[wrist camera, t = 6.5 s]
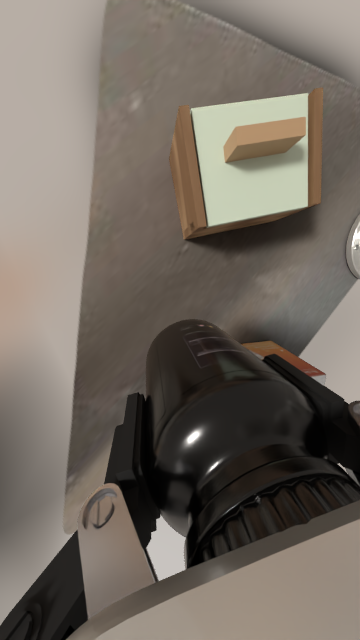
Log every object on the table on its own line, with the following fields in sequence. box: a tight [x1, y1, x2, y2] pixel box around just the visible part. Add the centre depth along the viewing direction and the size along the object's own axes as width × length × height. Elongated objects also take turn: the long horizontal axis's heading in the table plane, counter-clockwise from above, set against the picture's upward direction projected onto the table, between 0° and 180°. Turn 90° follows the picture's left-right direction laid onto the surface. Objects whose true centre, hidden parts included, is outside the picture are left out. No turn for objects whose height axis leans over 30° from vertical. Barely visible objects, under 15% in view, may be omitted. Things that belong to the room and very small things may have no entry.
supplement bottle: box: [146, 319, 360, 569], centre depth 9 cm, size 7×7×12 cm
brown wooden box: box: [169, 88, 323, 240], centre depth 20 cm, size 13×9×7 cm
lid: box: [190, 93, 308, 228], centre depth 16 cm, size 11×9×3 cm
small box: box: [241, 341, 326, 385], centre depth 26 cm, size 8×6×10 cm
